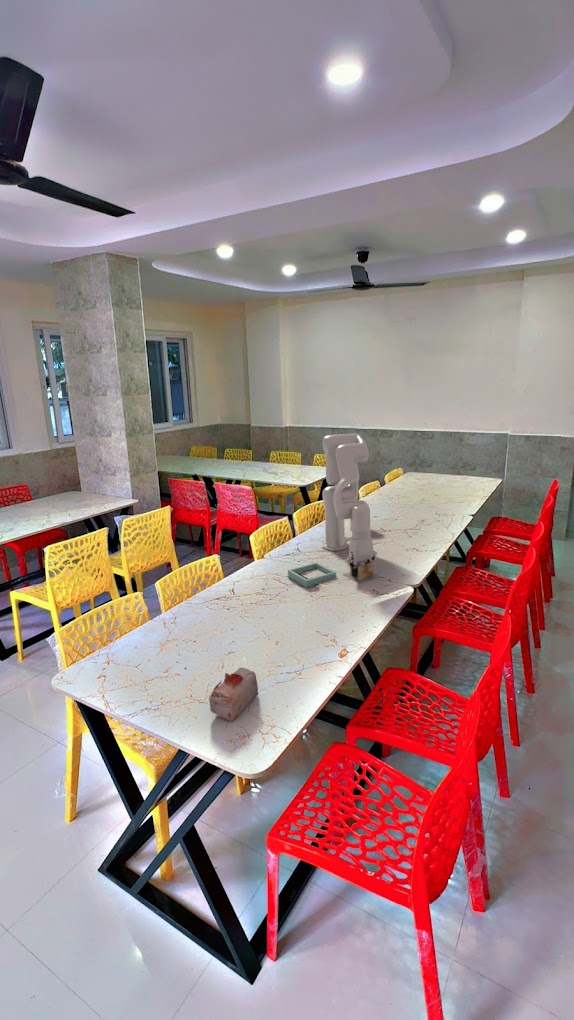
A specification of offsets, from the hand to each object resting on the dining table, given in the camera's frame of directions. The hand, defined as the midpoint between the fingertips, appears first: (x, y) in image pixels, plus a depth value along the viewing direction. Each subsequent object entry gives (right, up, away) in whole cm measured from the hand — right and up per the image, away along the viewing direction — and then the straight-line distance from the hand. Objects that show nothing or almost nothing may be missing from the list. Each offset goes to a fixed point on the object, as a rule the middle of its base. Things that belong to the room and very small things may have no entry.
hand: (361, 573), depth 216 cm
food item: (-46, -26, -79) cm, 95 cm away
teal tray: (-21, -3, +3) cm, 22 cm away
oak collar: (0, -1, 0) cm, 1 cm away
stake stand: (0, -2, +1) cm, 2 cm away
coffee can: (+9, +16, +68) cm, 71 cm away
